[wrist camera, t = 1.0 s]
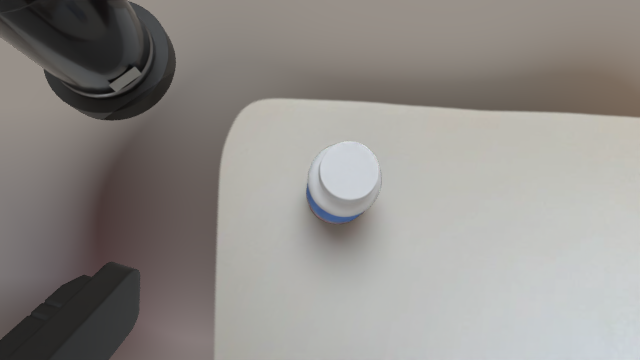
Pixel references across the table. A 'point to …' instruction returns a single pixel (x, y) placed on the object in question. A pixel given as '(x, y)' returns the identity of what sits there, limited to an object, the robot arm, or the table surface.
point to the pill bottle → (343, 182)
